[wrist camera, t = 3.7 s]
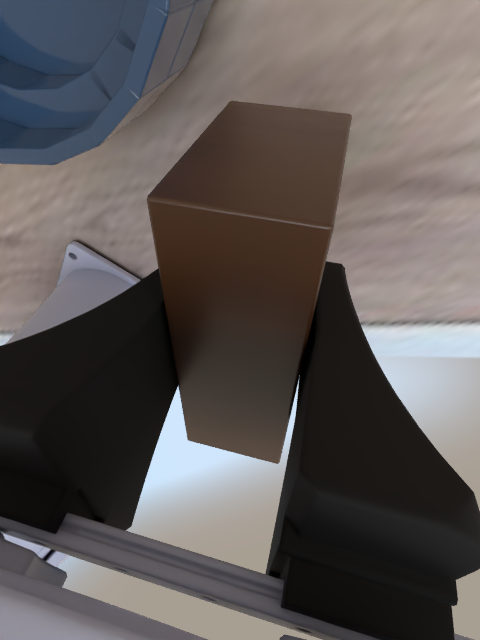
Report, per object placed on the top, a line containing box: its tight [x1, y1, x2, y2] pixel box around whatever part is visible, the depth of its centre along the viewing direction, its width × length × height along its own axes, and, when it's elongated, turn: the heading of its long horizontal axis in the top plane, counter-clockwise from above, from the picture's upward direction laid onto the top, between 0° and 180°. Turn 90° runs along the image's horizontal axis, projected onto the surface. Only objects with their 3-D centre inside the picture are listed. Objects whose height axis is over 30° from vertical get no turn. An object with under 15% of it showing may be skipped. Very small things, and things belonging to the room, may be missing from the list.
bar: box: [147, 101, 352, 464], centre depth 11 cm, size 8×3×5 cm, turn 179°
